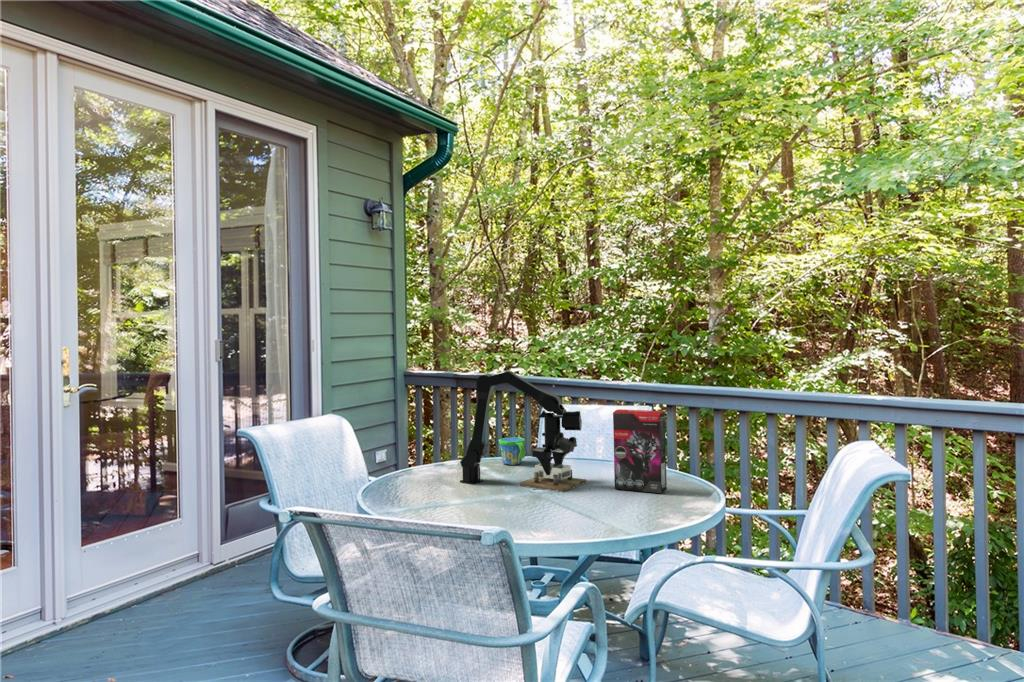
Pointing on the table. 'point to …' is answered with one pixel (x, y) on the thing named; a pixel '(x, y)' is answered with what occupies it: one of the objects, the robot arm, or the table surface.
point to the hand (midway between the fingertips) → (553, 473)
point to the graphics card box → (639, 450)
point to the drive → (555, 471)
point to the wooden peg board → (553, 482)
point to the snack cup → (512, 450)
